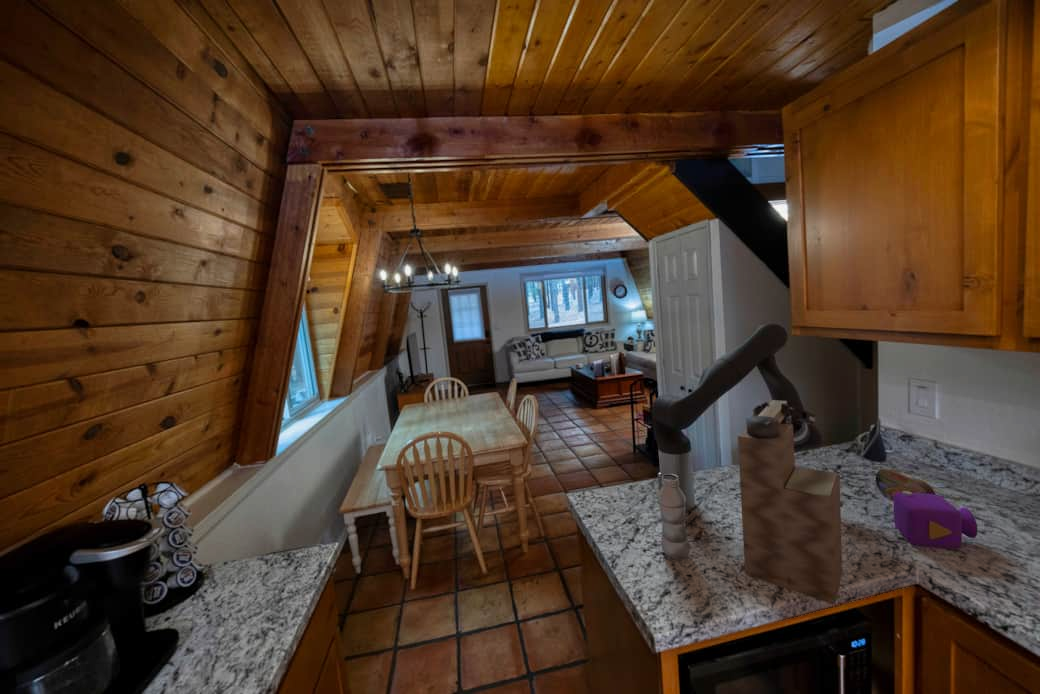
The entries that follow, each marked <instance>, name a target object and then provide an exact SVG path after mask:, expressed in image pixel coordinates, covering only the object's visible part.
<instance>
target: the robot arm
mask: <svg viewBox="0 0 1040 694" xmlns="http://www.w3.org/2000/svg"><path fill="white" fill-rule="evenodd" d="M787 342H788V331H787V330H786V329H785V327H784V326H782V325H780V324H777V323H772V322H771V323H764V324H762V325H760V326H759V327H758V328H756V330H754V331H753V333H752V334H751V335H749V336H748V337H747V339H746V340H745V341H744V342H742V343H741V344H739V345H738V346H736V347H735V348H732V349H731V350H729V351H727V352H726V353H725V354H723V355H722V356H720V357H719V358H718V359H716V360H714V361H713V362H712V363H710V365H708V366H707V367H706V368H705V369H704V370H703V372H702V373H701V376H700V379H699V383H698V385H697V386H696V388H695V389H693V391H691V392H689V393H688V394H686V395H685V396H683V397H680V396H679V397H678V396H674V395H669V394H662V395H659V396H657V397H656V398H655V400H654V401H653V403H652V408H651V419H652V420H651V421H652V427H653V435H654V440H655V441H656V443H657V447H658V459H659V472H658V473H657V484H658V492H659V491H660V490H661V488H662V487H663V484H662V481H663V480H662V477H663V475H665V474H673V475H676V476H678V480H679V486H678V487H679V488H680V489H681V491H682V492H683V493H684V495H685V498H686V508H685V511H689V510H692V509H693V508H695V506H696V503H695V502H696V501H695V500H696V499H695V488H694V487H695V485H694V472H693V471H694V470H693V457H692V453H693V452H692V442H691V440H690V438H689V437H688V436H687V435H686V434H684V432H683V431H682V430H686V429H688V428H689V427H691V426H692V425H693V424H694V423H695V422H696V421H697V420H698V419H699V418H700V417H701V416H702V415H703V414H704V413H705V412H706V411H707V410H708V409H709V408H710V407H711V406H712V405H713V404H715V403H716V402H717V401H718V400H719V399H720V398H721V397H723V396H724V395H725V394H727V393H728V392H729V391H730V390H732V389H734V388H735V387H736V386H737V385H738V384H739V383H741V382H742V381H743V380H744V379H745V378H746V377H747V376H748V375H749V374H750V373H751V372H752V371H753V370H754V369H755V368H757V369H758V371H759V373H760V375H761V377H762V379H763V381H764V382H765V385H766V387H767V389H768V391H769V395H770V397H771V401H772V400H779V401H787V405H786V404H781V408H782V409H781V412H782V414H783V415H784V416H785V417H784V418H783V420H782V421H781V422H780V423H782V424H792V425H793V439H794V453H795V452H799V451H800V452H801V451H808V450H812V449H813V450H814V449H818V448H820V447H821V446H823V443H824V437H823V434H822V432H821V431H820V430H819V428H818V427H817V426H816V425H815V423H816V422H815V421H816V414H814V413H811V412H810V411H806V410H805V407H804V405H803V402H802V400H801V397H800V394H799V392H798V390H797V388H796V387H795V385H794V384H793V383H792V381H791V380H790V379H789V378H787V376H785V375H784V374H783V373H782V371H781V369H779V367H778V364H777V361H776V357H775V355H776V354H777V352H779V351H780V350H782V349H783V348H784V347H785V345H787ZM769 403H770V402H767V401H764V402H763V403H762V404H760V405H757V406H755V407H754V408H753V410H752V417H753V416H758V415H759V414H760V413H761V412H762V411H763V410H764V409H765V408H766V407H767V406H768V405H769Z"/></svg>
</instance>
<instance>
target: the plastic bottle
mask: <svg viewBox="0 0 1040 694" xmlns="http://www.w3.org/2000/svg"><path fill="white" fill-rule="evenodd" d="M662 480H663V481H662V484H663V487H662V488H661V490H660V491H659V490H658V493H657V502H658V506H659V510H660V517H661V521H662V522H661V523H662V525H661V526H662V527H661V531H662V532H661V533H662V534H661V538H660V540H661V542H660V545H661V549H662V552H663V553H664V554H665V555H666V556H667V557H669V558H670V559H673V560H676V561H677V560H679V561H680V560H684V559H685V560H686V558H687V557H688V556H689V555H690V548H691V546H690V542H689V538H688V534H687V533H688V532H687V527H686V510H685V508H686V498H685V495H684V493H683V492H682V491H681V489H680V488H679V487H678V486H679V480H678V476H676V475H673V474H665V475H663V477H662Z"/></svg>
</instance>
